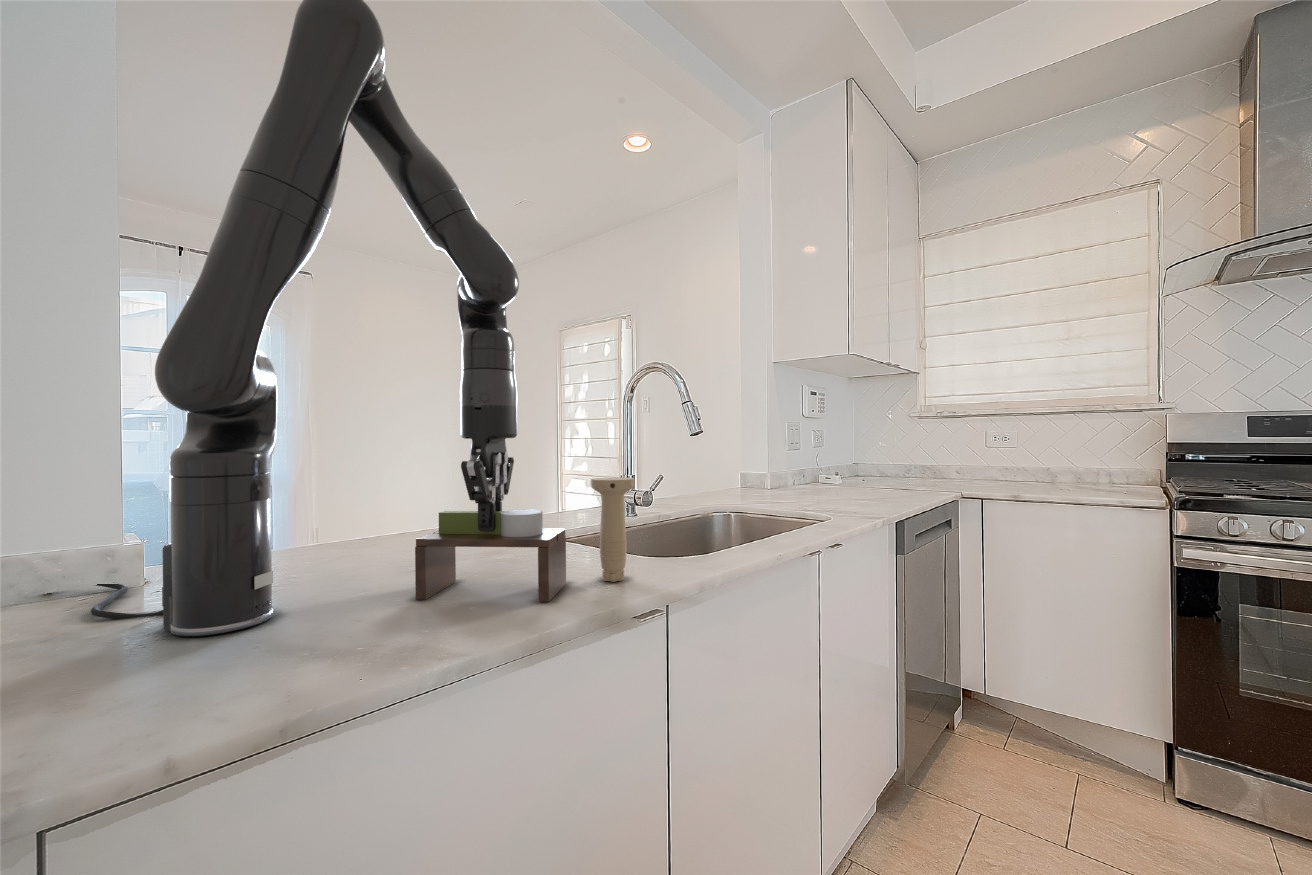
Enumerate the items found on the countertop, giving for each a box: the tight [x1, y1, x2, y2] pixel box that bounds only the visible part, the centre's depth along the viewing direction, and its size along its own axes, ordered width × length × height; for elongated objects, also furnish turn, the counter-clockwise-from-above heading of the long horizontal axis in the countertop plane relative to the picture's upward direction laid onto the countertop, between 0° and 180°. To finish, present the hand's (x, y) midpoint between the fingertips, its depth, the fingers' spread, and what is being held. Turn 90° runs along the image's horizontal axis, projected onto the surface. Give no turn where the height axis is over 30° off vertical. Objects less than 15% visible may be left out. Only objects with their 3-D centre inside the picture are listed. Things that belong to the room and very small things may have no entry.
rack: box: [414, 528, 567, 603], centre depth 77 cm, size 18×9×8 cm, turn 85°
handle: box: [590, 477, 635, 583], centre depth 83 cm, size 5×6×15 cm
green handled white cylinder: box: [438, 508, 544, 537], centre depth 77 cm, size 14×6×3 cm, turn 85°
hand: (490, 528), depth 77 cm, fingers closed on green handled white cylinder, 2 cm apart
